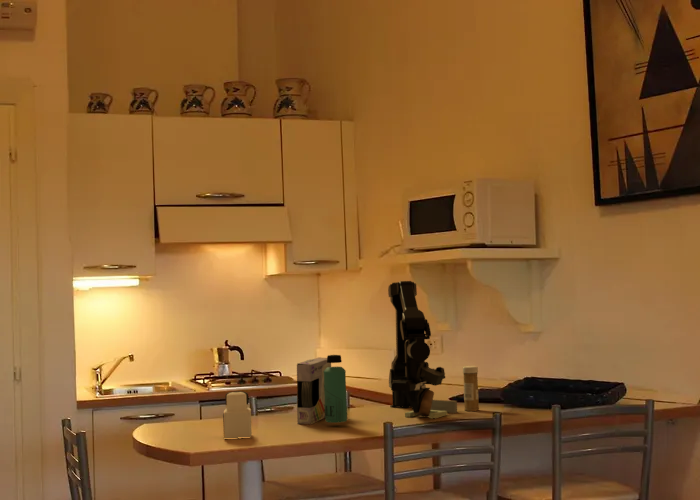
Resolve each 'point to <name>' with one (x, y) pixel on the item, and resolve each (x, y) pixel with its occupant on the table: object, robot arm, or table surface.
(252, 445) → the table surface
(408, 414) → the bracket
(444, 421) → the table surface
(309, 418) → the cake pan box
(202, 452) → the table surface
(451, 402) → the backstop wall
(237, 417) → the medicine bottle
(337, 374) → the beverage bottle
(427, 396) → the brown piece
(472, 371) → the sprinkles bottle
